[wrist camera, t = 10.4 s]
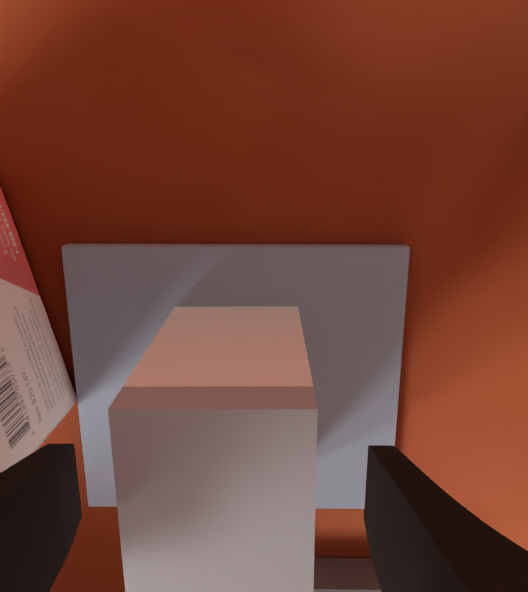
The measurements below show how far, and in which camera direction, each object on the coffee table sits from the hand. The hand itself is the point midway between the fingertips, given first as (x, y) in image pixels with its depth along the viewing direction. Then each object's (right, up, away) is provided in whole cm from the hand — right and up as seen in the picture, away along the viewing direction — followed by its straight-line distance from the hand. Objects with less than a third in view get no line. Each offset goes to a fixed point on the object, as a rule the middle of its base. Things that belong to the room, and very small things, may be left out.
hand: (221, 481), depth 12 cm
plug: (0, +1, +5) cm, 5 cm away
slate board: (0, +1, +6) cm, 6 cm away
